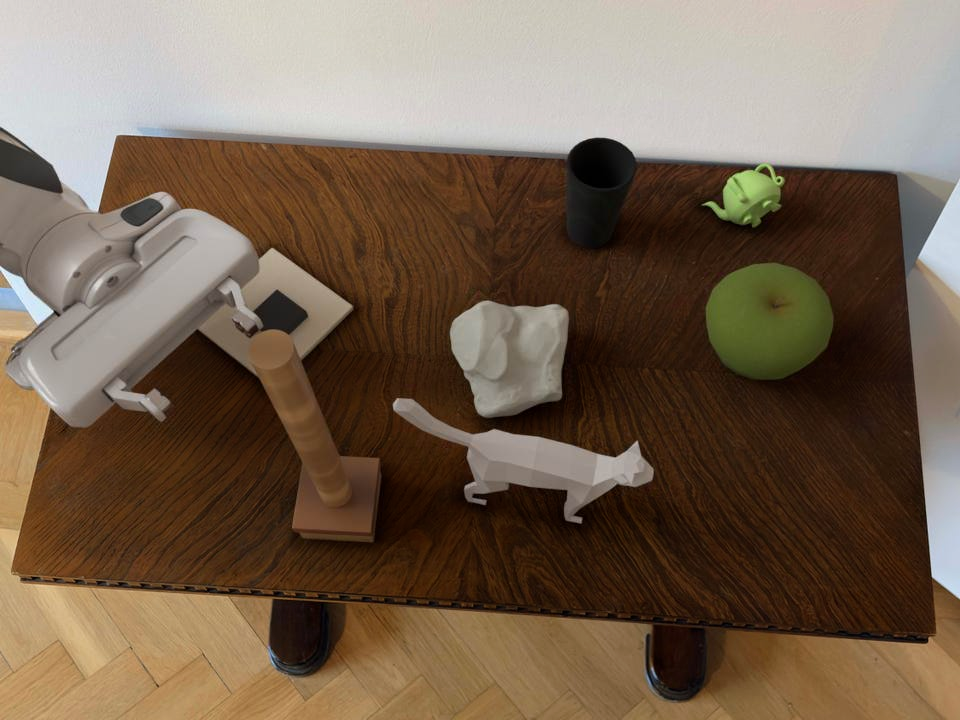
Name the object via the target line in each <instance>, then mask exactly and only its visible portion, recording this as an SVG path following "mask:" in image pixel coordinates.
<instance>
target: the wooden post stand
mask: <svg viewBox="0 0 960 720" xmlns="http://www.w3.org/2000/svg"><path fill="white" fill-rule="evenodd" d="M248 357H249V359H250V361H251V363H252V365H253V367H254V369H255V371H256V373H257V375H258V377H259V378H258V377H257V378H258V379H259V381H260V383H261V385H262V387H263V389H264V391H265V393H266V394H267V396H268V398H269V401H270V402H271V404H272V406H273V408H274V409H275V411H276V413H277V416H278V418H279V419H280V421H281V424H282V425H283V427H284V430H285V431H286V434H287V435H288V438H289V439H290V441H291V443H292V445H293V446H294V449H295V451H296V452H297V454H298V456H299V458H300V460H301V462H302V464H301V470H300V476H299V482H298V486H297V487H298V488H297V493H296V500H295V506H294V512H293V520H292V524H291V530H293V532H294V533H298V534H299V535H300V536H301V538H302V539H306V540H320V541H321V540H323V541H341V542H357V543H358V542H359V543H374V542H375V535H376V526H377V519H378V510H379V509H378V508H379V500H380V499H379V498H380V492H381V483H382V472H381V468H382V463H381V458H379V457H367V456H366V457H365V456H363V457H362V456H347V455H345V456H344V455H340V454H339V451H338V450H337V449H338V448H337V447H336V444H335V442H334V439H333V437H332V434H331V432H330V429H329V427H328V425H327V422H326V419H325V417H324V414H323V412H322V409H321V407H320V404H319V402H318V400H317V398H316V395H315V392H314V390H313V386H312V384H311V382H310V379H309V377H308V375H307V372H306V370H305V367H304V365H303V361H302V360H300V357H299V355H298V352H297V350H296V347H295V345H294V342H293V340H292V338H291V337H290V336H289V335H288V334H287V333H285V332H283V331H280V330H267V331H264V332H261V333H260V334H258V335H257V336H255V337H254V338H253V340H252V341H251V343H250V345H249V348H248Z"/></svg>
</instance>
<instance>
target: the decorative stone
mask: <svg viewBox="0 0 960 720" xmlns="http://www.w3.org/2000/svg"><path fill="white" fill-rule="evenodd" d="M569 316H570V315H569V311H568V310H567V309H566V308H565V307H564V306H562V305H560V304H557V303H551V304H547V305H544V306H531V305H530V306H529V305H517V306H510V305H506V304H501V303H497V302H495V301H492V300H483V301H481V302H478V303H477V304H475V305H474V306H472V307H471V308H470V309H467V310H465V311H464V312H462V313H461V314H460V315H458V316H457V317H455V318H454V320H453V321H452V323H451V327H450V330H449V336H450V344H451V352H452V354H453V355H454V357H455V359H456V361H457V362H458V364H459V366H460V368H461V369H462V370H463V375H464V377H465V379H466V380H468V382H469V385H470V388H471V392H472V394H473V396H474V398H473V402H474V408H475V411H476V412H477V414H478V415H480V416H482V417H483V418H486V419H491V418H499V417H511V416H516V415H518V414H520V413H522V412H524V411H525V410H528V409H530V408H532V407H536V406H537V405H540V404H544V403H548V402H558V401H560V400H561V399H562V397H563V389H562V388H563V387H562V386H563V385H562V371H563V365H564V360H565V354H566V349H567V344H568V337H569V336H568V335H569V334H568V333H569V321H570V319H569V318H570V317H569Z"/></svg>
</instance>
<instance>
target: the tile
mask: <svg viewBox="0 0 960 720" xmlns="http://www.w3.org/2000/svg"><path fill="white" fill-rule="evenodd" d="M258 259H259V266H260V271H259V273H258V274H257V275H256V276H255V277H254V278H253V279H252V280H251V281H250V282H248V283H247V284H246V285H245V286H244V287H243V288H242V289H241V290H242V292H243V295H244V297H245V299H246V303H247V306H248V309H249V310H251V311H252V312H253V311H254V310H255V309H256V308H257V307H258V306H259V305H260V304H261V303H263V302H264V301H265V300H266V299H267V298H268V297H269V296H270V295H271V294H272V293H273V292H274V291H276V290H279V291H280V292H282V293H283V294H284V295H286V296H287V297H288V298H290V299H291V300H292V301H294V302H295V303H296V304H298V305H299V306H300V307H302V308H303V309H304V310H306V311H307V314H308V317H307V318H306V319H305V320H304V321H303V322H302V323H301V324H300V325H299V326H298V327H297V328H296V329H295V330H294V331H293V332H292V333H291V334H290V335H289V336H290V337H291V338H292V340H293V342H294V345H295V347H296V350H297V352H298V355H299V357H300V360H301V361H303V360H304V358H306V357H307V356H308V355H309V354H310V353H311V352H312V351H313V350H314V349H315V348H316V347H317V346H318V345H319V344H320V343H321V342H322V341H323V340H324V339H325V338H326V337H327V336H328V335H329V334H330V333H331V332H332V331H334V329H335V328H336V327H338V325H340V324H341V323H342V321H344V319H346V317H348V316H349V315H350V313H352V312H353V311H354V305H352V304H351V303H349V302H348V301H347V300H345V299H344V298H342V297H341V296H340V295H338V294H337V293H336V292H334V291H333V290H331V288H329V287H327V286H326V285H324V284H323V283H322V282H321V281H319V280H318V279H316V278H315V277H313V276H312V275H311V274H309V273H308V272H307V271H305V270H304V269H302V268H301V267H300V266H298V265H297V264H296V263H294V262H293V261H292V260H291V259H289V258H287V257H286V256H285V255H283V254H282V253H280V252H279V251H278V250H276V249H275V248H274V247H271V248H270V249H269V250H268V251H266V253H264V254H263V255H262V256H261V257H260V258H258ZM237 311H238V309H237V306H235V307H234V308H231V307H230V306H229V305H227V304H226V303H225V304H224V305H223V306H222V307H221V308H220V309H219V310H218V311H216V312H215V313H214V314H213V315H212V316H211V317H210V318H209V319H208V320H207V321H205V322H204V323H203V324H202V325H201V326H200V327H199V328H198V329H197V330H198V331H199V332H200V333H201V334H203V336H205V337H207V338H208V339H209V340H210V341H211V342H213V343H214V344H215V345H216V346H218V347H219V348H220V349H222V350H223V352H225V353H226V354H228V355H229V356H230V357H231V358H233V359H234V360H235V361H237V363H239V364H240V365H241V366H243V367H244V368H245V369H247V370H248V371H249V372H250V373H251V374H253V375H254V376H255V377H257V378H258V379H259V377H258V375H257V373H256V371H255V369H254V367H253V365H252V363H251V361H250V359H249V357H248V348H249V345H250V343H251V341H252V340H253V338H254V337H255V336H257V335H258V334H260V333H261V332H262V331H260V330H259V331H258V332H257V333H256V334H255V335H254V336H253V337H252V338H251V339H250V338H248V337H247V336H246V335H245V333H242V332H240V331H239V330H238V329H237V328H236V326H235V323H234V322H233V320H232V318H231V317H232V316H233V315H234V314H235V313H236V312H237Z"/></svg>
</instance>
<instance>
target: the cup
mask: <svg viewBox="0 0 960 720" xmlns="http://www.w3.org/2000/svg"><path fill="white" fill-rule="evenodd" d="M637 167H638V164H637V159H636V157H635V154H634V153H633V152H632V151H631V150H630V149H629V147H628V146H626V145H625V144H623V143H622V142H620V141H619V140H615V139H614V138H608V137H597V136H596V137H591V138H587V139H584V140H582V141H579V142H578V143H577V144H575V145H574V146H573V147H572V148H571V149H570V151H569V153H568V155H567V157H566V233H567V236H568V238H569V239H570V240H571V242H572V243H574V244H576V245H577V246H579V247H582V248H586V249H596V248H599V247H603V246H604V245H605V244H607V243H608V242H609V241H610V239H611V238H612V236H613V233H614V230H615V227H616V225H617V222H618V220H619V217H620V215H621V212H622V209H623V207H624V204H625V202H626V199H627V197H628V194H629V191H630V189H631V186H632V184H633V181H634V180H635V179H634V178H635V176H636V174H637V170H638V169H637Z"/></svg>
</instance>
